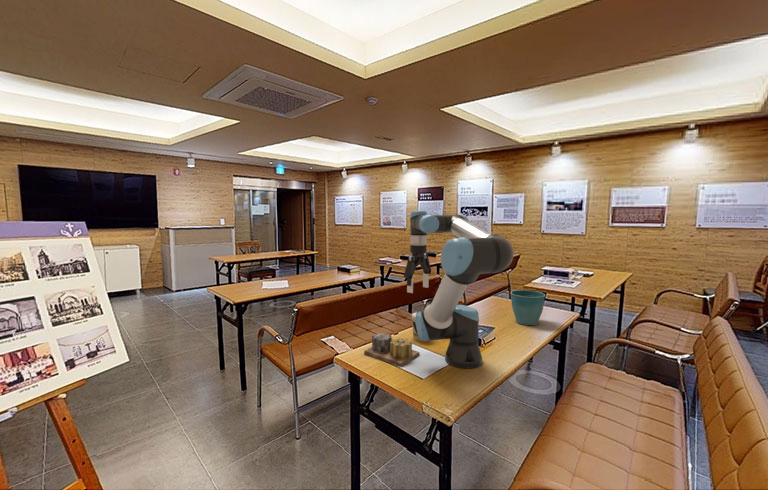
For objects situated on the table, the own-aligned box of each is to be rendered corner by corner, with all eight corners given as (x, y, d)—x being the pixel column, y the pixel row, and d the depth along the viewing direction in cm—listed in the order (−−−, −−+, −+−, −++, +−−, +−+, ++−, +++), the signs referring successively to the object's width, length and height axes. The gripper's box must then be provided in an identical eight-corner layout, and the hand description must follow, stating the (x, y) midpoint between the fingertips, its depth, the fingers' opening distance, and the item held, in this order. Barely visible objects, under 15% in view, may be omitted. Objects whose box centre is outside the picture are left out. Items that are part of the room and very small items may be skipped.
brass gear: (415, 353, 143) (415, 341, 142) (403, 360, 136) (403, 348, 135) (398, 348, 149) (398, 336, 148) (385, 355, 141) (385, 342, 141)
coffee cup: (409, 339, 162) (409, 316, 161) (414, 333, 171) (414, 311, 170) (427, 342, 159) (427, 318, 158) (432, 336, 168) (432, 313, 167)
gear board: (419, 355, 144) (419, 337, 144) (401, 366, 134) (401, 347, 133) (383, 344, 157) (383, 328, 156) (364, 354, 146) (364, 336, 145)
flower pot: (505, 323, 186) (506, 294, 185) (513, 315, 201) (514, 288, 199) (540, 329, 176) (542, 298, 174) (546, 321, 191) (547, 292, 189)
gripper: (425, 242, 163) (425, 284, 165) (395, 246, 144) (395, 293, 146) (438, 243, 159) (438, 286, 161) (410, 247, 139) (410, 296, 141)
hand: (418, 289), depth 153 cm, fingers open, 13 cm apart
